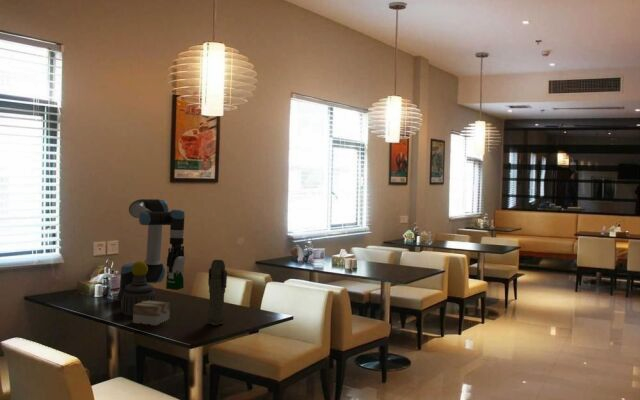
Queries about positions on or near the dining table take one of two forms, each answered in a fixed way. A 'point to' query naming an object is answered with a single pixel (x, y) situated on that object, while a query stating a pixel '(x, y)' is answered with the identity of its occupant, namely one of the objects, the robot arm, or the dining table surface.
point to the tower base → (150, 319)
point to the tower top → (151, 308)
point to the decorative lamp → (137, 289)
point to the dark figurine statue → (217, 291)
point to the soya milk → (176, 274)
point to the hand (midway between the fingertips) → (175, 277)
